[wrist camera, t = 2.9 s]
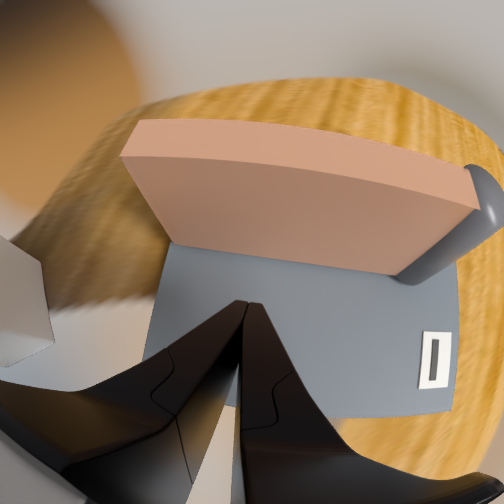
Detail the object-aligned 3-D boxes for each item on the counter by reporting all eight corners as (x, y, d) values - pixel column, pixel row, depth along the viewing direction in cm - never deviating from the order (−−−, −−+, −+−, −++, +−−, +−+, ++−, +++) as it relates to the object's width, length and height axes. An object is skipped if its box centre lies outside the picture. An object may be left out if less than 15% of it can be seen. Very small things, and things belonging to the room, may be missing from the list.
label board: (443, 409, 13) (453, 411, 12) (144, 381, 15) (136, 382, 14) (441, 212, 18) (448, 205, 17) (198, 173, 20) (195, 163, 19)
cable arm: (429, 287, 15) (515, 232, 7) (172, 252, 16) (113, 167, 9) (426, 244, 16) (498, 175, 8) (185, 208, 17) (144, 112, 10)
